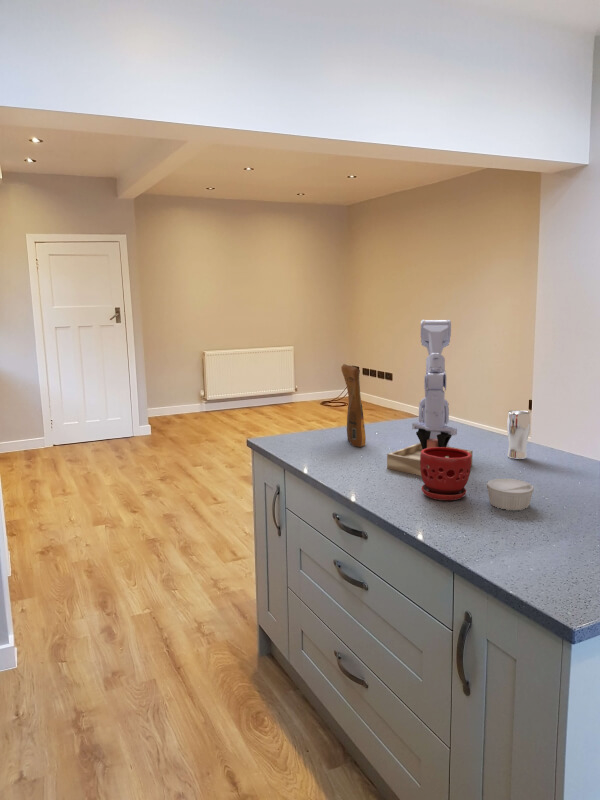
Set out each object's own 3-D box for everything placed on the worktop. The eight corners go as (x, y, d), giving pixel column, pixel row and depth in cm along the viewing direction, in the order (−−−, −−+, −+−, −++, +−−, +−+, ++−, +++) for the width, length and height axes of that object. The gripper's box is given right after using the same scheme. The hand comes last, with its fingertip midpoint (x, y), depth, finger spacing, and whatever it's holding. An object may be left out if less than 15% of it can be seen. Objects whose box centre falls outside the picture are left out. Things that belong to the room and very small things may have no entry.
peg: (430, 462, 194) (431, 438, 192) (441, 465, 191) (442, 440, 190) (423, 465, 191) (424, 440, 189) (435, 467, 188) (436, 442, 187)
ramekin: (527, 515, 148) (528, 494, 147) (480, 508, 153) (481, 487, 153) (536, 502, 157) (537, 482, 156) (492, 495, 163) (493, 476, 162)
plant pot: (467, 506, 155) (469, 460, 153) (415, 500, 159) (416, 455, 157) (472, 490, 167) (473, 447, 165) (423, 485, 171) (424, 443, 169)
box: (421, 455, 203) (422, 441, 202) (472, 464, 191) (472, 450, 190) (387, 468, 188) (387, 454, 188) (439, 479, 176) (439, 464, 175)
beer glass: (504, 459, 196) (506, 413, 194) (506, 453, 203) (508, 409, 200) (528, 461, 194) (530, 414, 191) (528, 455, 200) (531, 410, 198)
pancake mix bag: (350, 449, 212) (350, 368, 207) (340, 436, 230) (340, 362, 226) (369, 448, 212) (369, 368, 208) (358, 435, 231) (358, 361, 226)
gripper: (407, 410, 190) (406, 453, 192) (449, 416, 180) (447, 461, 183) (419, 407, 195) (418, 448, 197) (460, 412, 185) (459, 456, 188)
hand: (433, 454), depth 190 cm, fingers open, 5 cm apart
